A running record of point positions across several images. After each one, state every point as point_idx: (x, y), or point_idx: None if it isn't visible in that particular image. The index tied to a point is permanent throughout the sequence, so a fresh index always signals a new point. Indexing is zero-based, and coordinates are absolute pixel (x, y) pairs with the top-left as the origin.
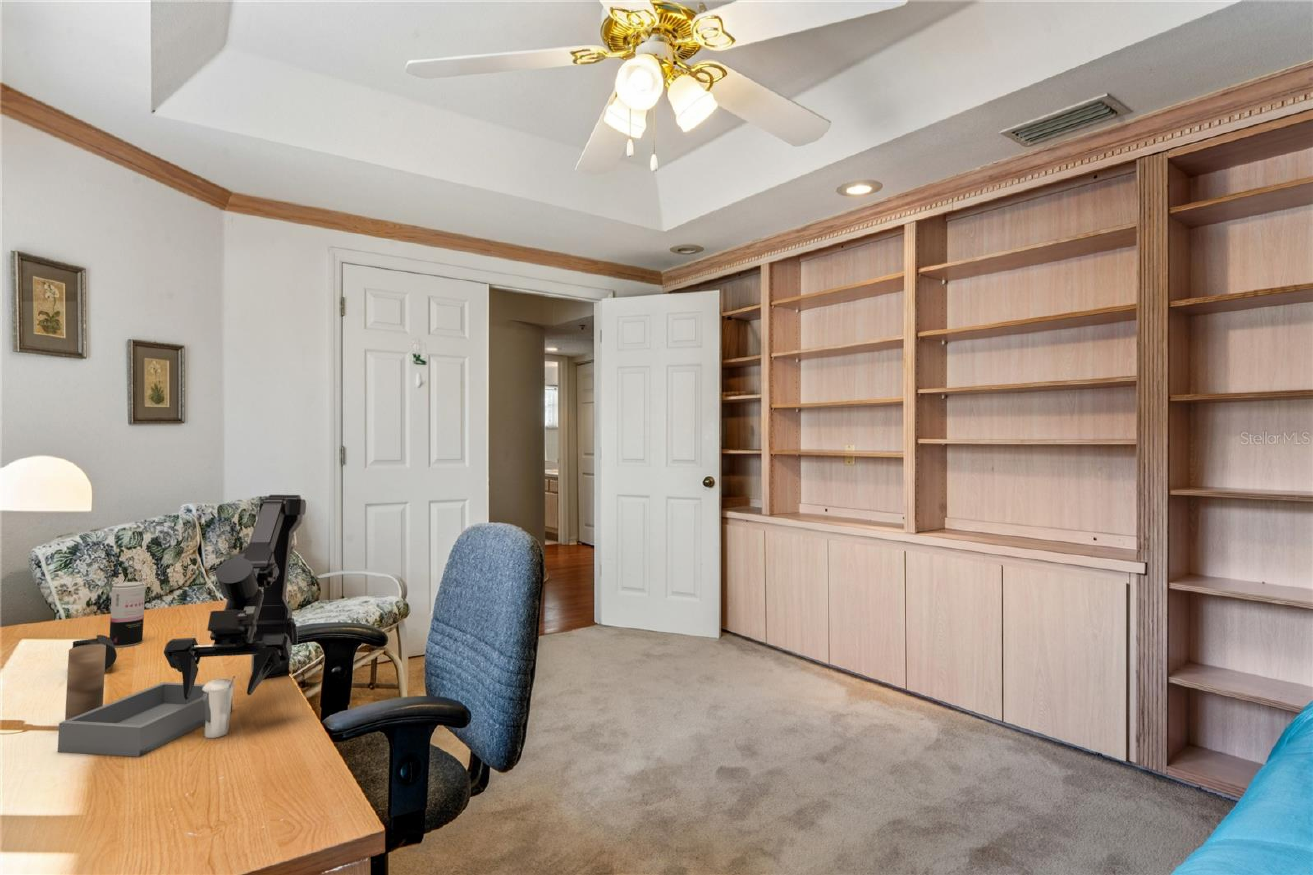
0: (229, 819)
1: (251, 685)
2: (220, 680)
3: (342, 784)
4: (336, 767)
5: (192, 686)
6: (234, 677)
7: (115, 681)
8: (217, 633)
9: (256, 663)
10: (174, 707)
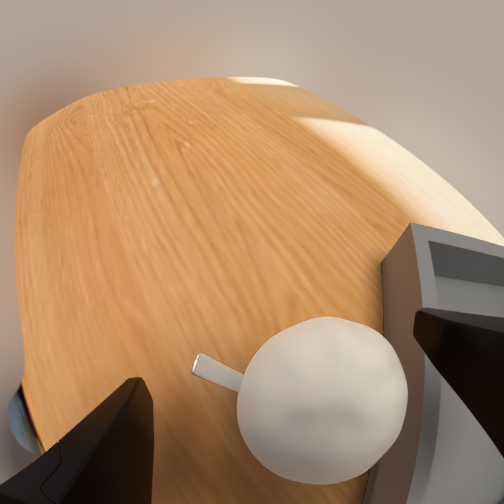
0: (121, 117)
1: (115, 395)
2: (344, 431)
3: (21, 180)
4: (16, 217)
5: (458, 383)
6: (199, 373)
7: None
8: None
9: (55, 496)
10: (478, 497)
